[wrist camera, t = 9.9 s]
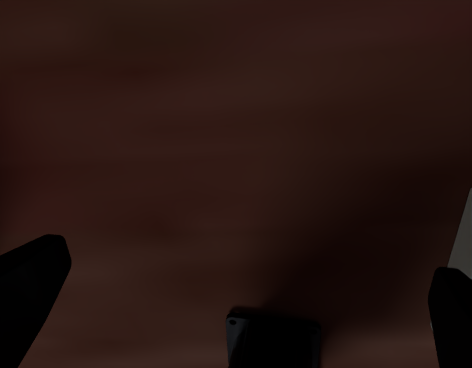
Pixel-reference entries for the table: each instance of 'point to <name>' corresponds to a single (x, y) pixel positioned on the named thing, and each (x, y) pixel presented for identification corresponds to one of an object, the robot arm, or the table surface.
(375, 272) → the table surface
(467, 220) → the sleeve box
